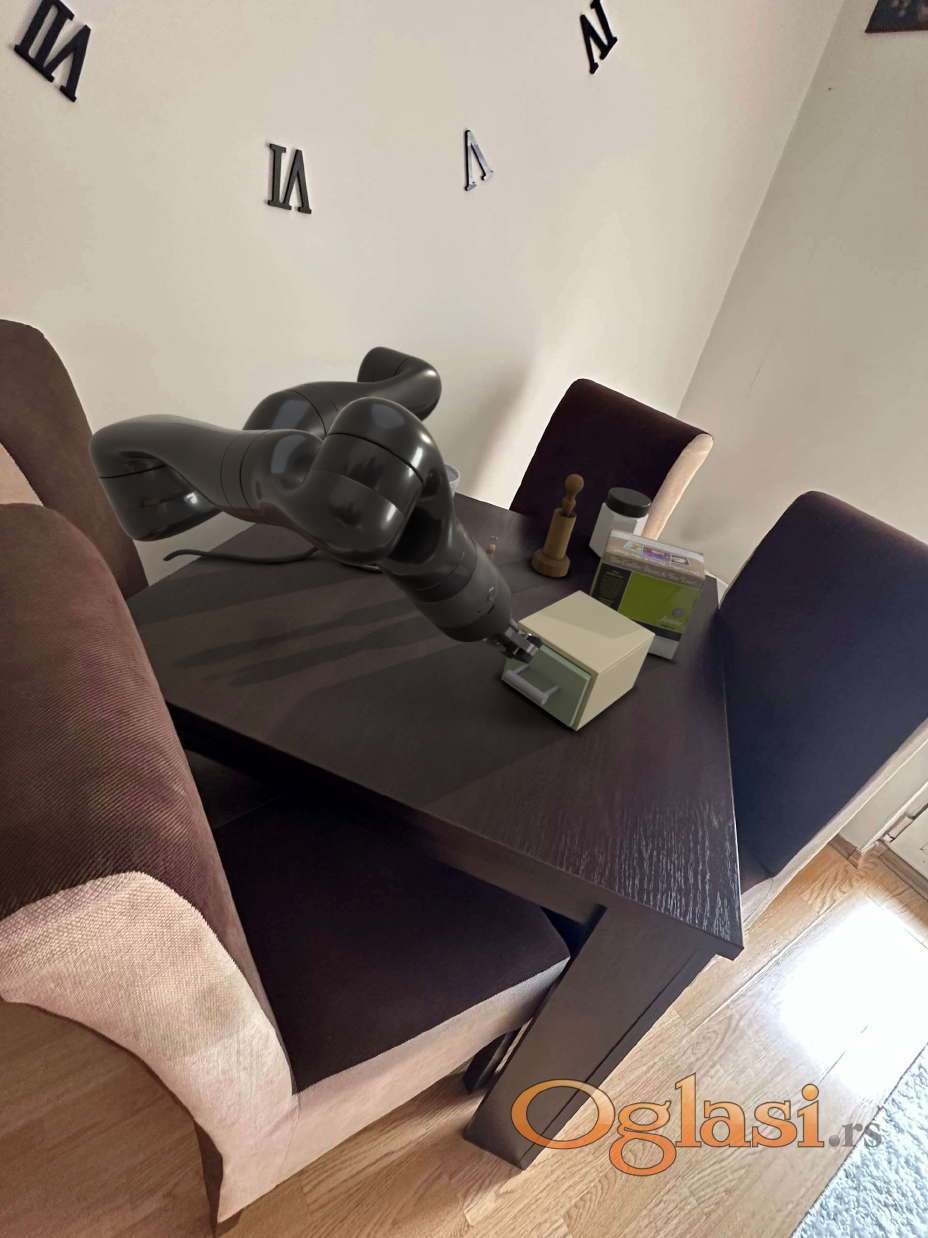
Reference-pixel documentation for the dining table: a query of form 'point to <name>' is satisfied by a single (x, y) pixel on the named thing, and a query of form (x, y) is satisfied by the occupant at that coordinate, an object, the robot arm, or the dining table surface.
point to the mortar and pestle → (559, 534)
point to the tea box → (650, 585)
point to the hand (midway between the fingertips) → (511, 648)
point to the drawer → (550, 682)
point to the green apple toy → (491, 548)
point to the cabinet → (593, 647)
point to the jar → (620, 516)
